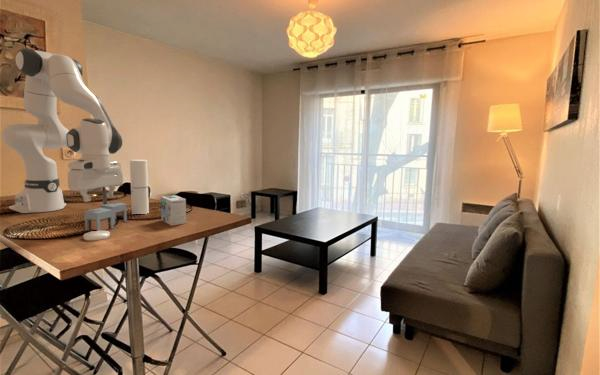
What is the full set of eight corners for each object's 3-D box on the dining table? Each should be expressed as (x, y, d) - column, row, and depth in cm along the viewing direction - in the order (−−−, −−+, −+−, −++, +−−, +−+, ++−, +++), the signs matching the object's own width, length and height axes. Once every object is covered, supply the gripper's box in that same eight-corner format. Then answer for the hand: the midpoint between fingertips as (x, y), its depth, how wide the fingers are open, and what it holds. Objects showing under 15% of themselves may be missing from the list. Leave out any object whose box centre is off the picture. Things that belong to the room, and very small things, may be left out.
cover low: (85, 230, 118) (84, 211, 117) (101, 226, 125) (100, 207, 123) (98, 232, 116) (97, 213, 115) (113, 228, 123) (112, 209, 121)
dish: (77, 238, 109) (77, 235, 109) (98, 232, 117) (98, 229, 117) (95, 241, 107) (95, 238, 107) (115, 235, 114) (115, 232, 114)
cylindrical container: (141, 215, 143) (140, 161, 139) (128, 214, 144) (126, 160, 140) (152, 212, 150) (150, 160, 146) (139, 210, 151) (137, 159, 147)
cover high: (101, 222, 129) (100, 205, 128) (115, 219, 135) (114, 202, 134) (113, 224, 127) (112, 206, 126) (126, 220, 133) (126, 203, 132)
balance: (81, 222, 128) (79, 183, 125) (117, 213, 144) (115, 179, 141) (92, 224, 126) (90, 185, 124) (127, 215, 142) (126, 180, 140)
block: (91, 230, 119) (90, 220, 119) (100, 227, 123) (100, 217, 122) (99, 231, 118) (98, 221, 117) (108, 229, 122) (108, 219, 121)
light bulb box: (160, 220, 137) (160, 196, 135) (176, 218, 141) (175, 194, 140) (171, 226, 129) (170, 200, 128) (186, 223, 134) (186, 198, 132)
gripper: (114, 161, 127) (116, 194, 129) (63, 164, 108) (66, 203, 110) (126, 161, 125) (128, 195, 127) (76, 165, 106) (79, 204, 108)
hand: (99, 199), depth 118 cm, fingers open, 8 cm apart
